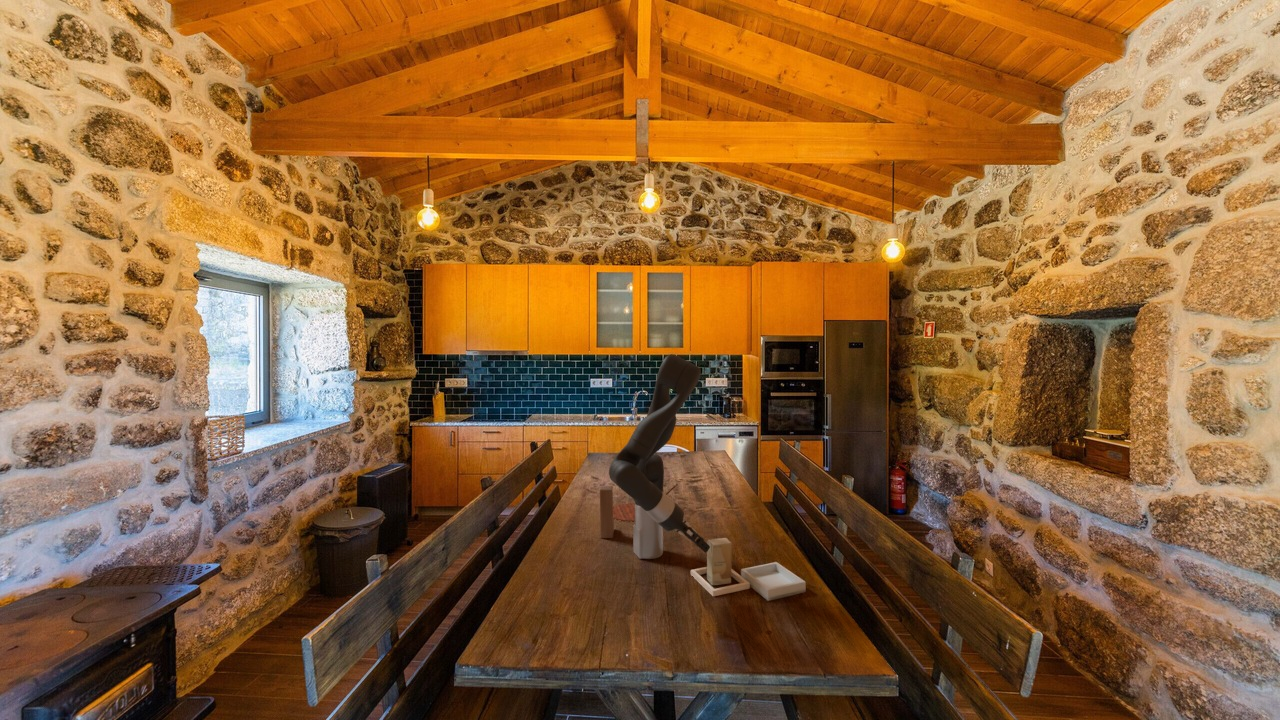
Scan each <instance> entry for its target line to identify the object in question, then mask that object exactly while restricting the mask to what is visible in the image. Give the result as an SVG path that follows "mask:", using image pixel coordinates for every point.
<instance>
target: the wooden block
mask: <svg viewBox="0 0 1280 720" xmlns="http://www.w3.org/2000/svg"><path fill="white" fill-rule="evenodd" d="M613 491H614V489H613V486H611V485H610V486H609V485H607V486H600V488H599V519H600V520H599V521H600V522H599V525H600V531H599V532H600V535H599V536H600V539H613V538H614V533H615V532H614V531H615V523H614V520H615V519H614V518H613V507H614V500H613V499H614V497H613V496H614V494H613V493H614V492H613Z"/></svg>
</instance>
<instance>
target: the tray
mask: <svg viewBox="0 0 1280 720" xmlns="http://www.w3.org/2000/svg"><path fill="white" fill-rule="evenodd" d="M740 576H741V577H743V578H744V579H745V580H746V581H748V582H749V583H750V588H751V589H753V590H754V591H755V592H756V593H758V595H760V596H761V597H762V598H764V599H765V600H766V601H767V602H769V601H774V600H778V599H782V598H787V597H790V596H795V595H799V594H802V593H803V594H804V593H806V590H807V589H806V583H807V582H806V581H805V580H804V579H802V578H801V577H799V576H798V575H796V574H795V573H793V572H792V571H790V570H789V569H788V568H786V567H785V566H784V565H781V564H780V563H779V562H777V561H774V562H770V563H766V564H760V565H755V566H751V567H750V566H749V567H745V568H741V569H740Z"/></svg>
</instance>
